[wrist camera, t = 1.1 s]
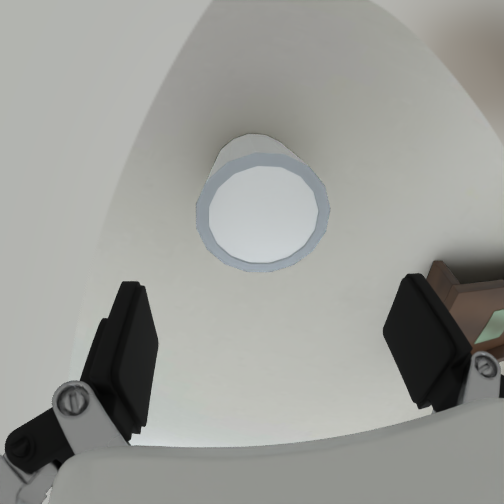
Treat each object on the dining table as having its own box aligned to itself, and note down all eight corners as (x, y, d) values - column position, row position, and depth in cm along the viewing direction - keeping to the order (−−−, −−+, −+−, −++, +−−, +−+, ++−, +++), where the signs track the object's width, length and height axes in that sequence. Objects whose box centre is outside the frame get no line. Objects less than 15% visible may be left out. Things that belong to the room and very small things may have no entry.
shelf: (433, 260, 27) (469, 308, 21) (526, 256, 28) (557, 289, 23) (397, 341, 34) (418, 387, 28) (491, 323, 35) (513, 356, 29)
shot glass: (237, 231, 24) (240, 292, 18) (185, 158, 20) (167, 200, 15) (317, 188, 22) (349, 238, 16) (273, 106, 19) (294, 126, 13)
